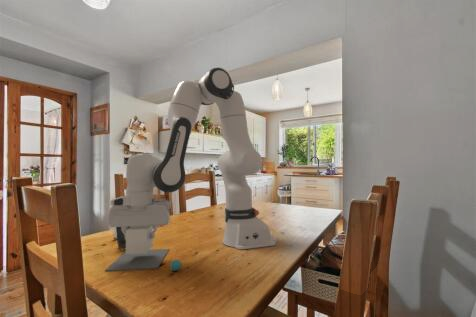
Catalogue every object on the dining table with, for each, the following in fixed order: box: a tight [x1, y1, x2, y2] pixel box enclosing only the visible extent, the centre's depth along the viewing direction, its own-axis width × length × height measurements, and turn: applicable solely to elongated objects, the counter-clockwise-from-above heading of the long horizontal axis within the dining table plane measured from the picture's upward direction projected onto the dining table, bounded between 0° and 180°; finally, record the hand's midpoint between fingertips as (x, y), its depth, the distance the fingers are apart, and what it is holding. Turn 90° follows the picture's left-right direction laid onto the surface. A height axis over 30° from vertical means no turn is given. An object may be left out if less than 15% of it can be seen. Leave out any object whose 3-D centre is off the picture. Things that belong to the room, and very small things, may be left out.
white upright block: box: [125, 226, 154, 254], centre depth 79 cm, size 7×7×8 cm
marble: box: [170, 259, 182, 272], centre depth 71 cm, size 3×3×3 cm
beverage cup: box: [116, 227, 130, 250], centre depth 93 cm, size 7×7×20 cm
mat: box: [104, 248, 170, 272], centre depth 79 cm, size 16×16×1 cm
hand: (139, 238), depth 79 cm, fingers closed on white upright block, 7 cm apart
